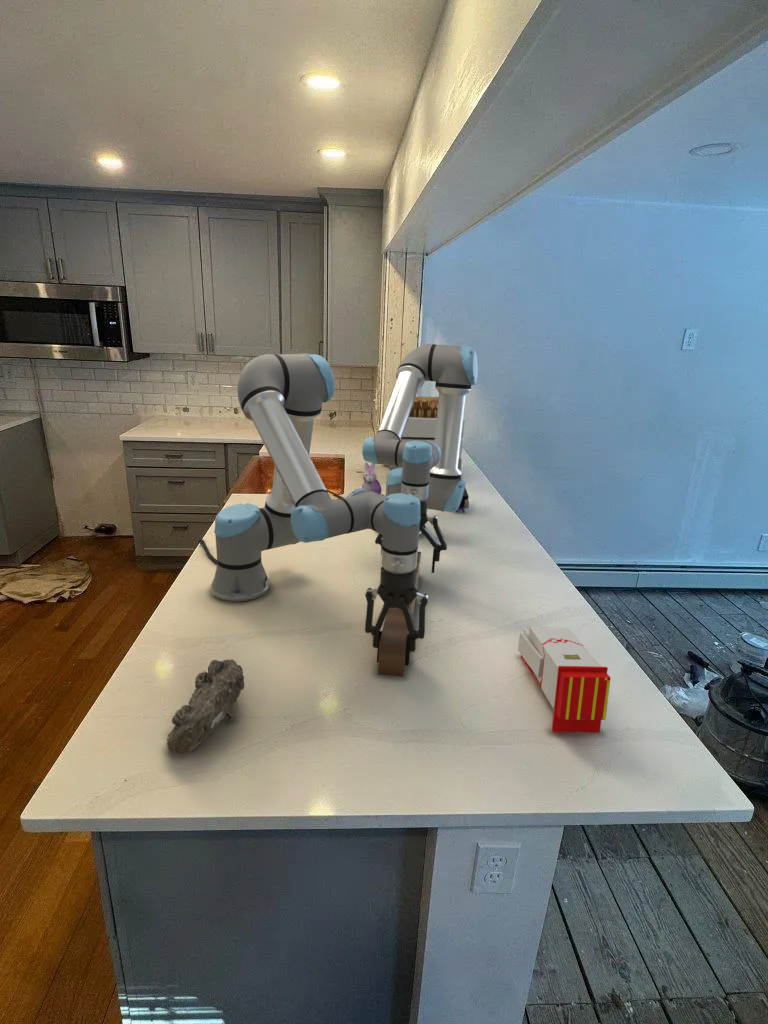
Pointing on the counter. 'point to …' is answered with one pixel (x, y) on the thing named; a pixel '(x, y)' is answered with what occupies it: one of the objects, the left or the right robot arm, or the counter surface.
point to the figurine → (371, 479)
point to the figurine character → (464, 501)
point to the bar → (395, 638)
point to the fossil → (206, 705)
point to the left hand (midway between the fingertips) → (393, 660)
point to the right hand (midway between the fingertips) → (409, 569)
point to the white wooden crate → (424, 424)
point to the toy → (566, 678)
